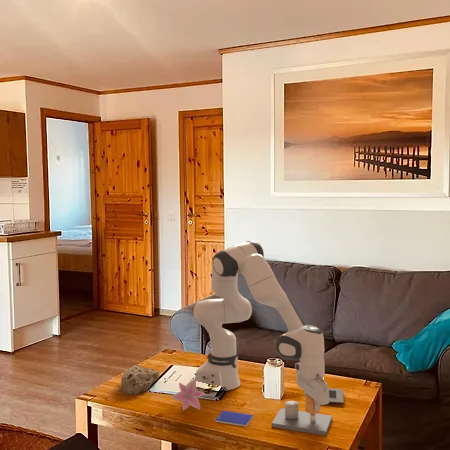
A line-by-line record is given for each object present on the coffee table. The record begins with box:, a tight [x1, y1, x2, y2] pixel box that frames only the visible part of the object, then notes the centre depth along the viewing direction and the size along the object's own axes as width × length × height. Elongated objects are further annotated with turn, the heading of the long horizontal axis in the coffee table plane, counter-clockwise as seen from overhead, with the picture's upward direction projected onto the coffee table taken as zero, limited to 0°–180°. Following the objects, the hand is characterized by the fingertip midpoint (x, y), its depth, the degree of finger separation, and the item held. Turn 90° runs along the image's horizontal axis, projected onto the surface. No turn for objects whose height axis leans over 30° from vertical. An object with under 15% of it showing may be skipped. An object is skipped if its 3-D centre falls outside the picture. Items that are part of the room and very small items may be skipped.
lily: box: [171, 379, 205, 412], centre depth 213 cm, size 12×12×10 cm
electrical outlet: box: [328, 387, 345, 405], centre depth 217 cm, size 13×10×2 cm
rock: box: [119, 364, 160, 395], centre depth 234 cm, size 21×14×10 cm
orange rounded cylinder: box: [304, 395, 321, 414], centre depth 194 cm, size 5×5×5 cm
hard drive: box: [214, 410, 254, 427], centre depth 201 cm, size 2×8×12 cm
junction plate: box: [271, 400, 333, 436], centre depth 196 cm, size 20×13×7 cm, turn 69°
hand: (312, 406), depth 194 cm, fingers closed on orange rounded cylinder, 5 cm apart
